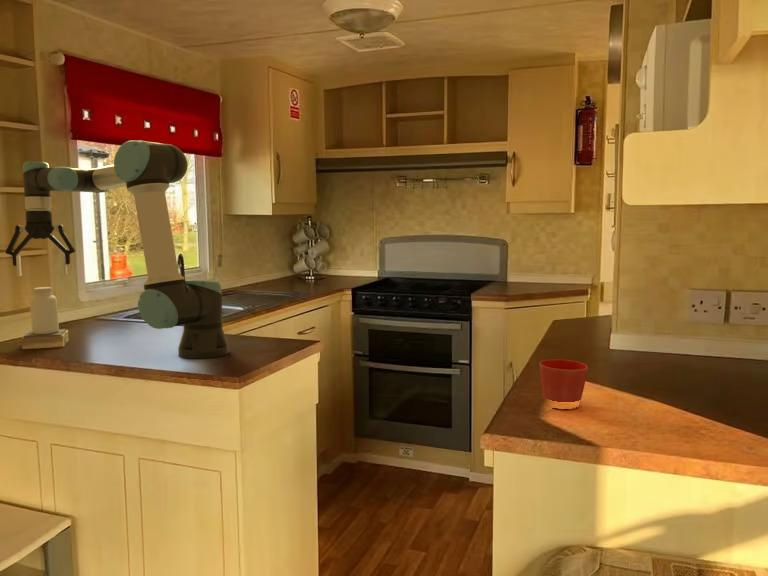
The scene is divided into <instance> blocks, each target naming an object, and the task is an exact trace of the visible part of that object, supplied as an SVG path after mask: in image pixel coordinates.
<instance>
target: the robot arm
mask: <svg viewBox="0 0 768 576" xmlns="http://www.w3.org/2000/svg"><path fill="white" fill-rule="evenodd" d="M188 167H189V166H188V159H187V157H186V155H185V154H184V152H183V151H182V150H181V149H180V148H178V147H177V146H175V145H173V144H169V143H160V142H153V141H145V140H141V139H140V140H128V141H125V142H123V143H122V144H121V145H120V146H119V147H118V149H117V151H116V153H115V155H114V159H113V164H109V165H104V166H99V167H96V168H72V167H69V166H59V165H58V166H52V167H50V166H49V163H48V162H44V161H25V162H24V163H23V164H22V178H23V179H22V180H23V181H22V182H23V194H24V208H25V210H26V211H25V225H20V224H18V225H15V227H14V233H13V234H12V235H13V236H12V238H11V240H10V242H9V244H8V246H7V248H6V249H5V254H6V255H10V256H11V257H12V265H13V267H16V274H17V275H16V277H22V276H23V275H22V274H23V273H22V262H21V261H22V260H21V258H22V257H21V255H19V254H20V253H21V251H22V250H23V249H24V248H25V247H26V246H27V244H28V243H30V241H31V240H32V239H33V240H38V239H41V240H46V239H49V240H50V241H51V242H52V243H53V244H54V245H55V246H56V248H57V247H58V249H59V250H60V251H61V252H62V253H63V254H62V269H63V270H62V272H63V275H64V276H66V275H68V265H70V264H71V256H70V255H71V254H73V253H75V252H76V249H75V247H74V245H73V243H72V242H71V240H70V239H69V237H68V235H67V234H66V233H65V228H64V225H63V224H59V225H54V224H53V214H52V211H51V209H52V196H51V195H52V194H51V192H73V193H75V192H77V193H81V192H82V193H94V194H100V193H106V192H108V191H109V190H113V189H119V188H125V187H126V190H127V192H129V193H130V194H132V195H133V199H134V203H135V209H136V210H135V211H136V214H137V220H138V228H139V233H140V239H141V244H142V250H143V256H144V262H145V267H146V272H147V279H146V280H145V282H144V283H143V288H144V290H143V291H142V292H141V293H140V295H139V298H138V300H137V308H138V312H139V314H140V316H141V318H142V321H144V323H145V324H147V325H148V326H149V327H151V328H153V329H157V330H161V329H172V328H174V327H180V326H183V331H182V335H181V338H180V341H179V345H178V352H177V353H178V356H179V357H181V358H183V359H184V358H185V359H195V360H196V359H197V360H198V359H210V358H211V359H212V358H219V357H222V356H226V355H228V354H229V352H230V349H229V343H228V340H227V337H226V334H225V332H224V329H223V293H222V286H221V283H220V282H218V281H213V280H199V279H197V280H196V279H186V278H185V277H184V276H183V275H181V274H180V272H179V267H178V261H177V254H176V249H175V242H174V237H173V232H172V231H173V230H172V226H171V220H170V214H169V209H168V208H169V207H168V203H167V196H166V192H167V190H168V189H169V188H170V184H174V183H177V182H179V181H180V180H182V179H183V178H184V177H185V175H186V174H187V172H188ZM24 230H25V231H26V232H27V233H28V234H27V235H26V236H25V238H24V239H23V240H22V241H21V242H20V243H19V244H18V246H17V247H16V248H15V246H16V244H17V242H18V240H19V239H20V236H21V233H23V232H24ZM54 230H55V231H56V232H57V233H58V234H59V235H60V237H61V238H62V240H63V241H64V243H65V245H66V246H67V248H66V247H65V246H64V244H63V243H61V241H59V240H58V239H57V238H56V236H55V235H54V234H53V232H54ZM14 248H15V249H14Z"/></svg>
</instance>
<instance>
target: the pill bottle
mask: <svg viewBox="0 0 768 576" xmlns="http://www.w3.org/2000/svg"><path fill="white" fill-rule="evenodd" d="M33 295H34V296H32V297H30V300H29V305H30V306H29V307H30V317H31V319H30V320H31V331H32V332H33V334H51V333H56V332H58V331H59V329H60V322H59V310H58V309H59V308H58V307H59V306H58V299H57V296H55V295H53V289H52V287H51V286H42V287H41V286H40V287H35V288H33Z"/></svg>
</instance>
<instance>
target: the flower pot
mask: <svg viewBox="0 0 768 576" xmlns="http://www.w3.org/2000/svg"><path fill="white" fill-rule="evenodd" d="M538 365H539V375H540V381H541V382H540V383H541V392H542V395H543V397H544V398H546V399H549V400H552V401H557V402H575V401H579V400H581V401H582V397H583V394H584V389H585V384H586V381H587V376H588V371H589V367H588V365H587V364H586V363H584V362H580V361H577V360H569V359H561V358H560V359H559V358H558V359H555V358H554V359H545V360H541V361H540V362H539V364H538ZM544 398H543V399H544ZM574 410H575V409H568V410H567V411H574ZM560 411H565V410H564V409H560Z"/></svg>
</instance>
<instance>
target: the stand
mask: <svg viewBox="0 0 768 576" xmlns="http://www.w3.org/2000/svg"><path fill="white" fill-rule="evenodd" d="M69 332H70V331H69V329H67V328H59V331H58V332H56V333H51V334H33V332H32V330H29V332H27V333H26V334H25V335H23V336H22V337H21V350H29V349H44V348H45V349H48V348H49V349H50V348H62V347H65V345H66V344H67V343H68V341H69V340H70V339H69V338H70V337H69Z"/></svg>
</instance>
